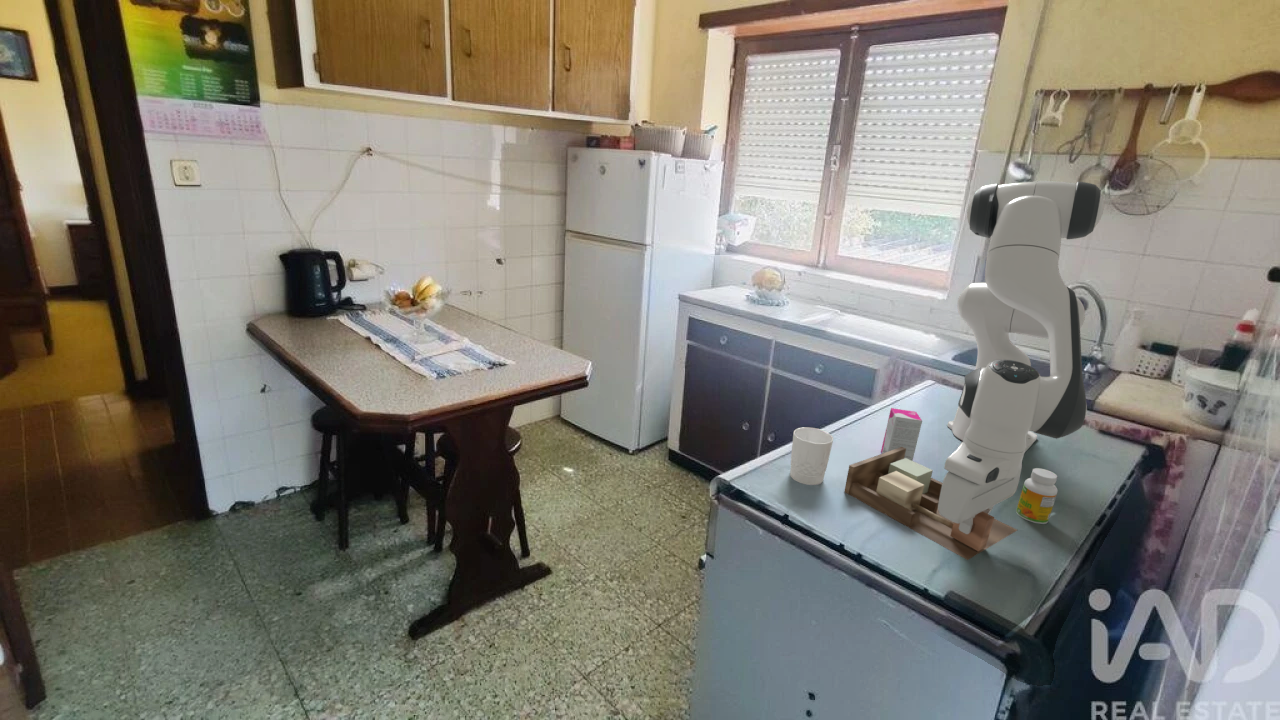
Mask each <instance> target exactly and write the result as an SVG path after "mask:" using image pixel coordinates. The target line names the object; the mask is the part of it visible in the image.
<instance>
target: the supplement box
mask: <svg viewBox="0 0 1280 720" xmlns="http://www.w3.org/2000/svg"><path fill="white" fill-rule="evenodd" d="M922 424H923V420H922V418H921V416H920V415H919V414H918V413H917V411H914V410H907V409H901V408H900V409H898V408H894V407H893V408H892V407H891V408H890V411H889V415H888V420H887V425H886V428H885V433H884V437H883V442H882V446H881V449H880V454H883V453H886V452H888V451H891V450H894V449H897V448H900V447H904V448H906V452H905V456H904V458H907V459H909V460H911V461H914V458H915V453H916V449H917V444H918V440H919V436H920V432H921V428H922Z"/></svg>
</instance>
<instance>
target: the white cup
mask: <svg viewBox="0 0 1280 720" xmlns="http://www.w3.org/2000/svg"><path fill="white" fill-rule="evenodd" d="M833 443H834V437H833V436H832V434H831V433H829V432H827V431H825V430H823V429H819V428H815V427H808V426H807V427H798V428H796V429H795V430H793V435H792V444H791V454H790V455H791V456H790V471H789V472H790V473H789V475H790V477H791V478H792V479H793V480H794V481H796V482H797V483H800V484H802V485H808V486H809V485H810V486H817V485H821V484H822V483H823V482H824V479H825V474H826V472H827V471H826V470H827V468H828V464H829V461H830V456H831V451H832V447H833Z"/></svg>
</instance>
